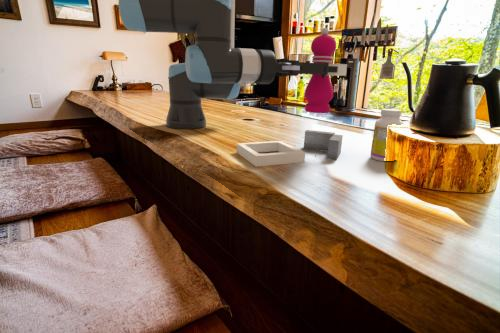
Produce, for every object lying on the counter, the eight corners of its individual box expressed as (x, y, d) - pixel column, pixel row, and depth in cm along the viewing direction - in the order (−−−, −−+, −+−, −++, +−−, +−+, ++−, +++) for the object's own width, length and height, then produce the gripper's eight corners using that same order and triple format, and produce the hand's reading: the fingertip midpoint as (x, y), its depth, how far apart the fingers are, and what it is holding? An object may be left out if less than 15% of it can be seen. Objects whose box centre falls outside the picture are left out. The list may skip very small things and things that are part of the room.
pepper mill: (331, 114, 75) (342, 25, 69) (302, 112, 76) (309, 25, 70) (330, 110, 81) (339, 29, 75) (303, 109, 83) (310, 29, 77)
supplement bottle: (376, 154, 84) (384, 107, 80) (401, 159, 80) (410, 110, 76) (365, 158, 79) (372, 109, 76) (391, 164, 75) (400, 111, 71)
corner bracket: (300, 147, 89) (301, 130, 88) (321, 145, 92) (323, 129, 91) (331, 160, 76) (333, 141, 75) (354, 158, 79) (356, 139, 78)
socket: (236, 152, 81) (236, 143, 80) (279, 149, 86) (280, 140, 85) (255, 166, 70) (256, 156, 69) (304, 161, 74) (305, 152, 74)
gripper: (241, 82, 78) (317, 83, 87) (270, 86, 62) (360, 87, 71) (241, 51, 76) (320, 55, 84) (272, 47, 60) (365, 52, 69)
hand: (338, 69), depth 78 cm, fingers closed on pepper mill, 5 cm apart
